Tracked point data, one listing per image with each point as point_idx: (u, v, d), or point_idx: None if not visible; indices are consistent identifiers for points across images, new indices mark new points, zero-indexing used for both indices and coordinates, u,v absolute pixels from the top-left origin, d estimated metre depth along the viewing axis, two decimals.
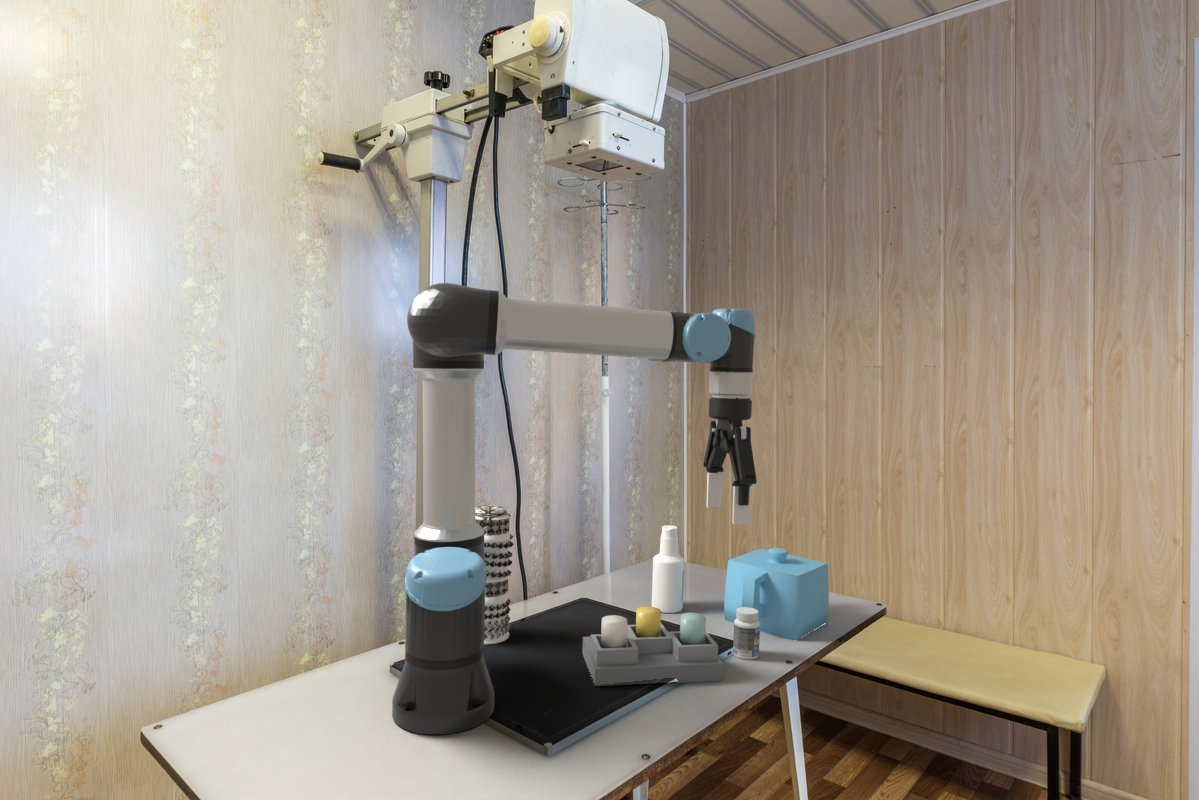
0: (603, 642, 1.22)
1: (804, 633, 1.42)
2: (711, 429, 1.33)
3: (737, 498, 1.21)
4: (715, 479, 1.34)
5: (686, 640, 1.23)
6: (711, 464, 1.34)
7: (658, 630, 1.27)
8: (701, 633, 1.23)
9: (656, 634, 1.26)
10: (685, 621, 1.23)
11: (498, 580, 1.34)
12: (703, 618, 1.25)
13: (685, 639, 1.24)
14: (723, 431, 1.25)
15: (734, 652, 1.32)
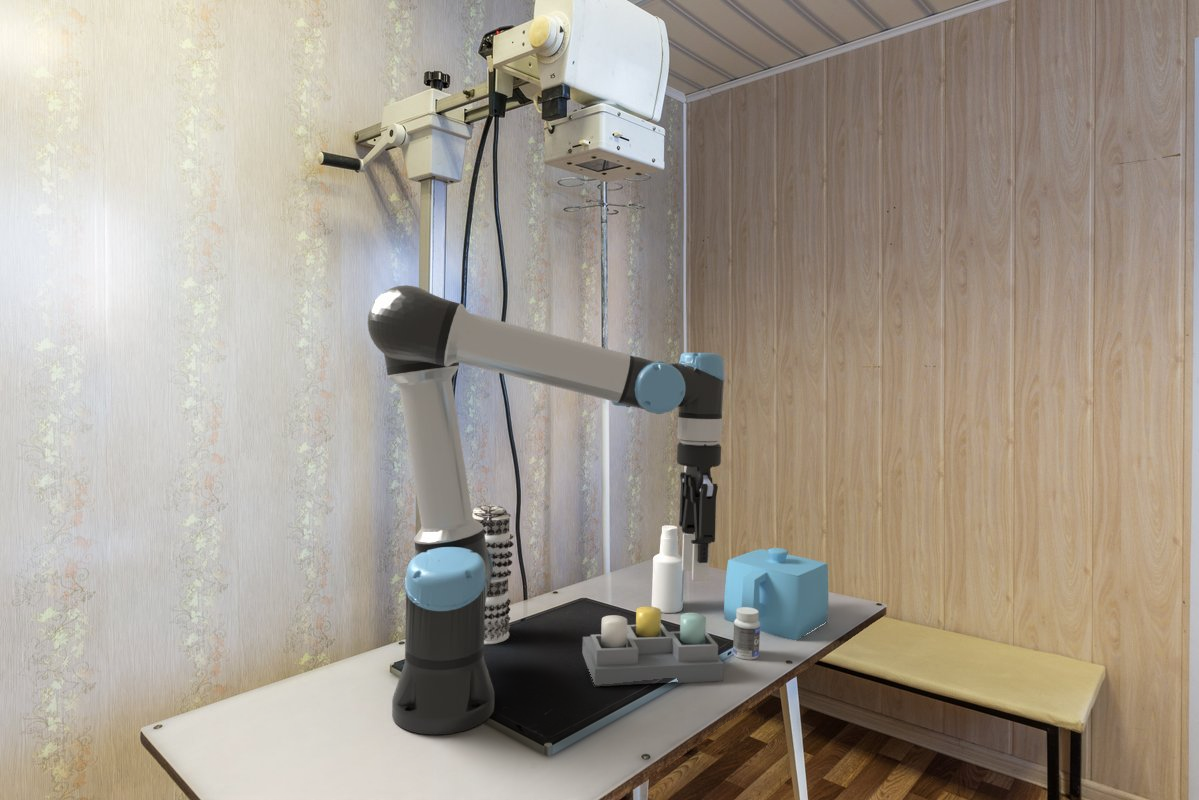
0: (603, 642, 1.22)
1: (804, 633, 1.42)
2: (681, 480, 1.29)
3: (696, 555, 1.21)
4: (691, 540, 1.27)
5: (686, 640, 1.23)
6: (686, 521, 1.27)
7: (658, 630, 1.27)
8: (701, 633, 1.23)
9: (656, 634, 1.26)
10: (685, 621, 1.23)
11: (498, 580, 1.34)
12: (703, 618, 1.25)
13: (685, 639, 1.24)
14: (691, 480, 1.22)
15: (734, 652, 1.32)
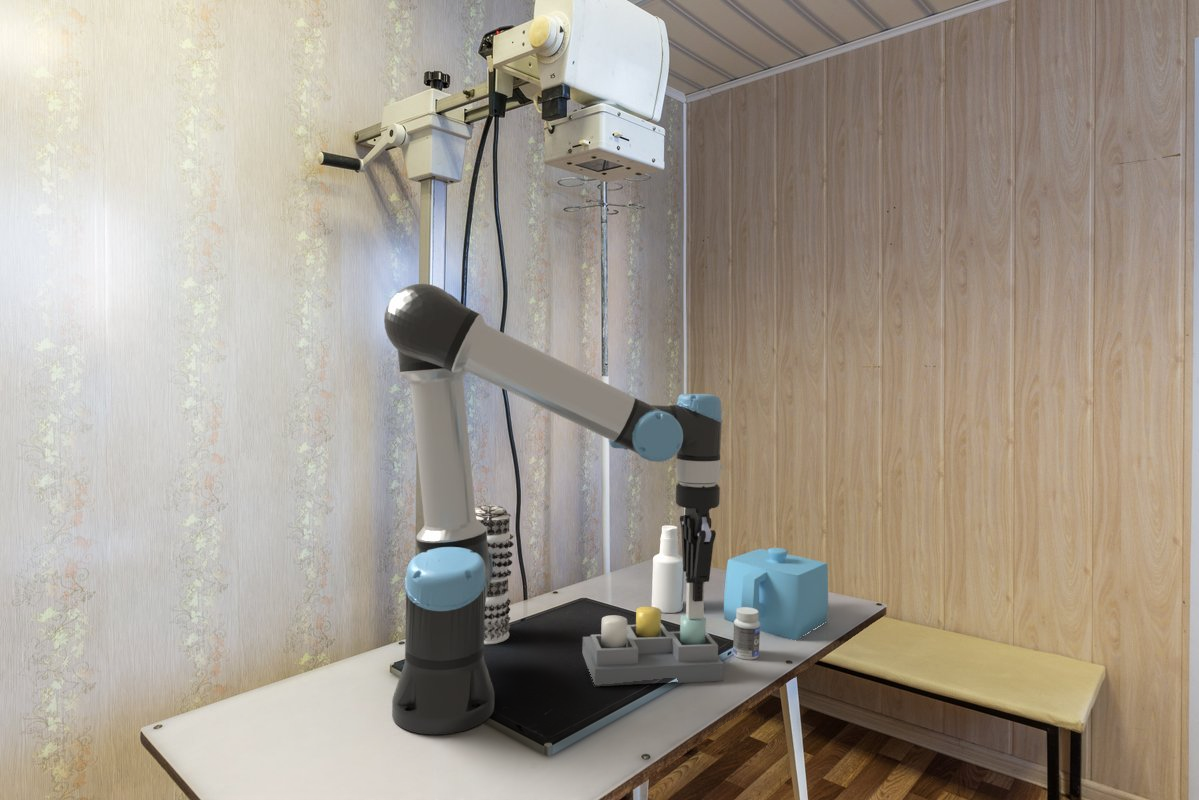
0: (603, 642, 1.22)
1: (804, 633, 1.42)
2: (681, 524, 1.29)
3: (691, 594, 1.24)
4: None
5: (686, 641, 1.23)
6: (689, 565, 1.25)
7: (658, 630, 1.27)
8: (701, 635, 1.23)
9: (656, 634, 1.26)
10: (685, 622, 1.23)
11: (498, 580, 1.34)
12: (703, 619, 1.25)
13: (685, 640, 1.24)
14: (690, 522, 1.22)
15: (734, 652, 1.32)
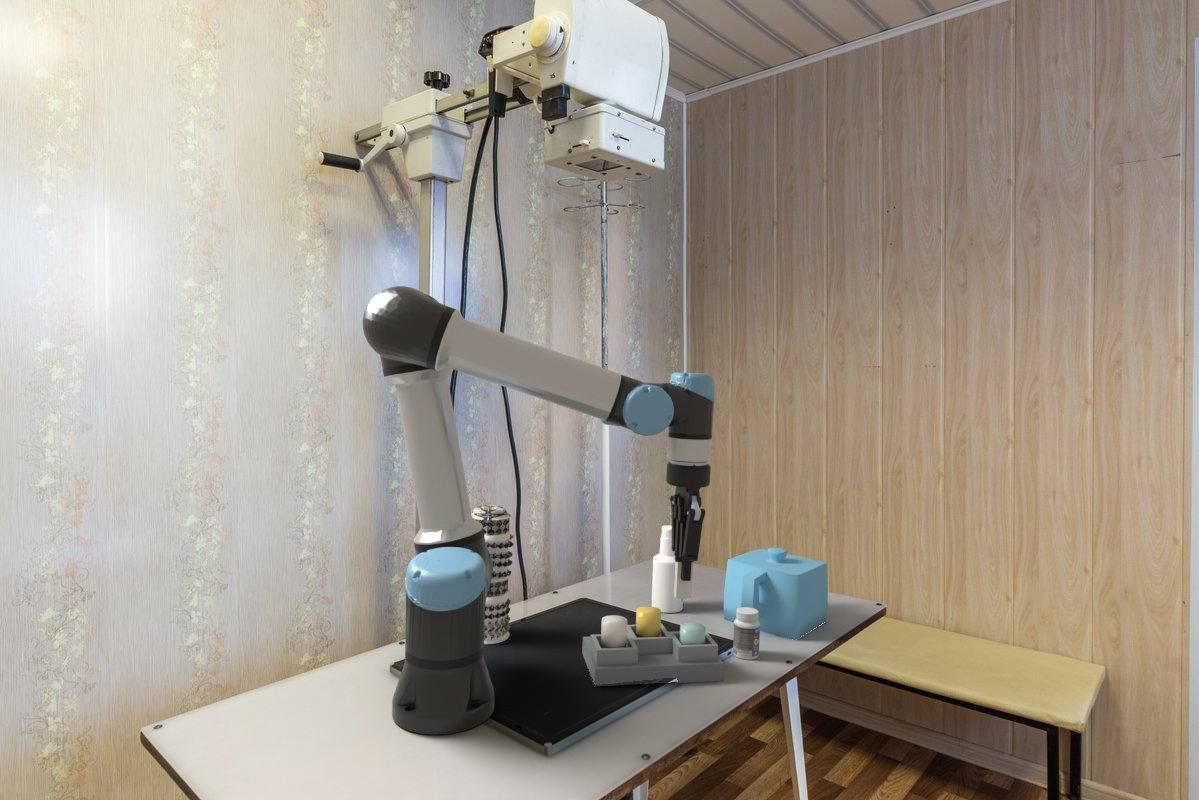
0: (603, 642, 1.22)
1: (803, 632, 1.42)
2: (672, 503, 1.28)
3: (680, 573, 1.23)
4: None
5: None
6: (678, 544, 1.25)
7: (658, 630, 1.27)
8: (700, 643, 1.23)
9: (656, 634, 1.26)
10: (685, 631, 1.24)
11: (498, 580, 1.34)
12: (703, 628, 1.25)
13: None
14: (680, 501, 1.22)
15: (734, 652, 1.32)
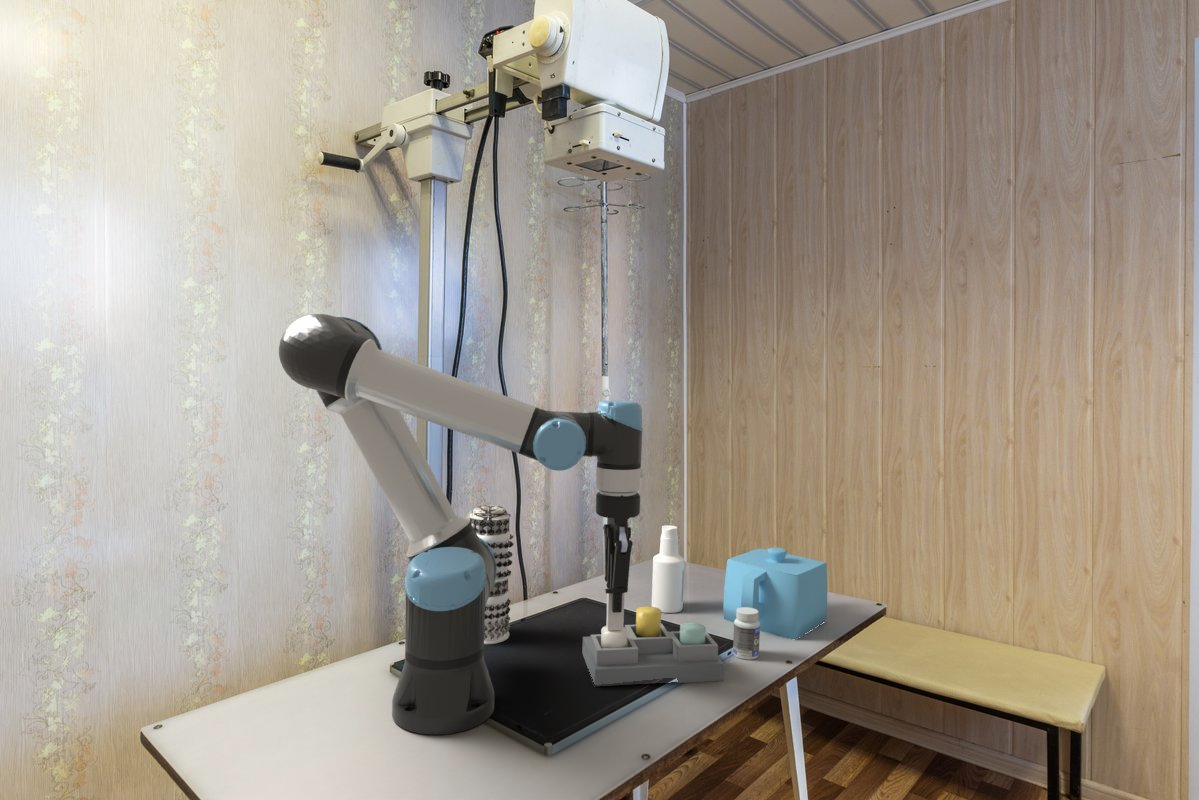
0: None
1: (803, 632, 1.43)
2: (604, 533, 1.27)
3: (611, 604, 1.22)
4: None
5: None
6: (609, 575, 1.23)
7: (658, 630, 1.27)
8: (700, 643, 1.23)
9: (656, 634, 1.26)
10: (685, 631, 1.24)
11: (498, 580, 1.34)
12: (703, 628, 1.25)
13: None
14: (609, 532, 1.20)
15: (734, 652, 1.32)
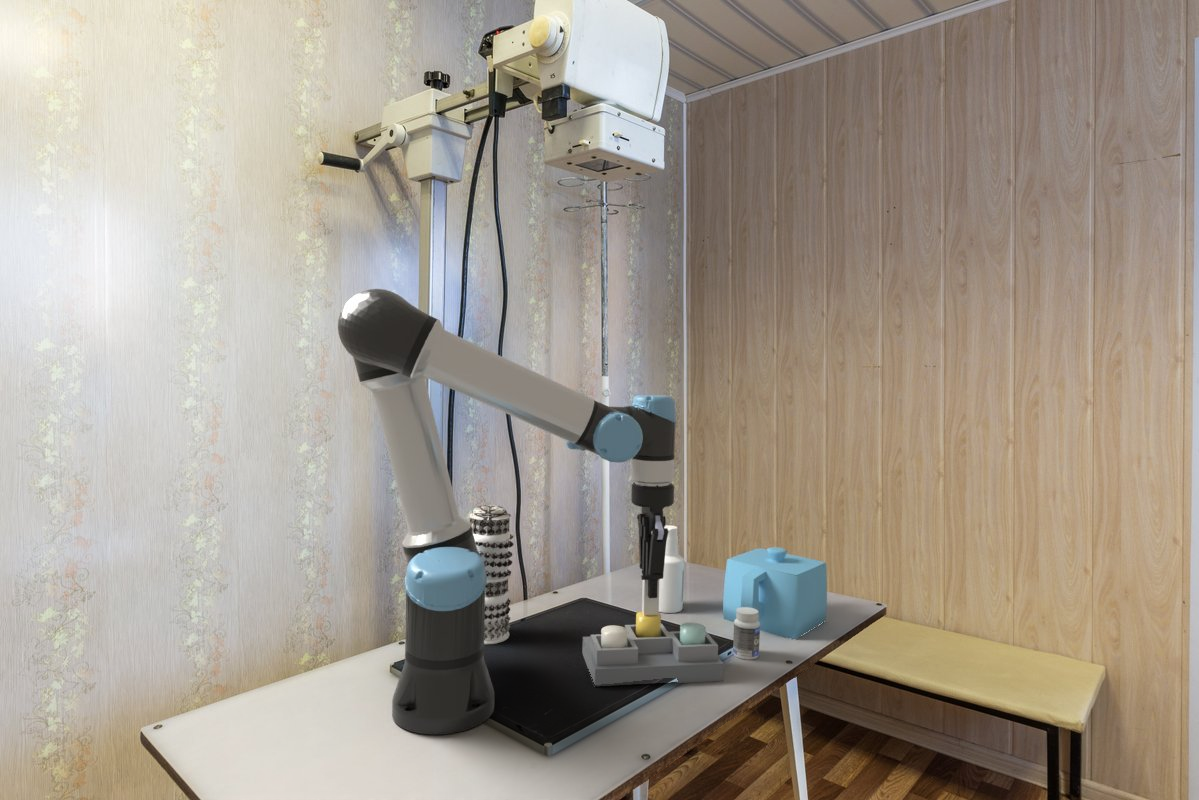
0: None
1: (803, 632, 1.43)
2: (639, 522, 1.32)
3: (647, 590, 1.27)
4: None
5: None
6: (644, 562, 1.28)
7: (658, 634, 1.27)
8: (700, 643, 1.23)
9: None
10: (685, 631, 1.24)
11: (498, 580, 1.34)
12: (703, 628, 1.25)
13: None
14: (645, 520, 1.25)
15: (734, 652, 1.32)
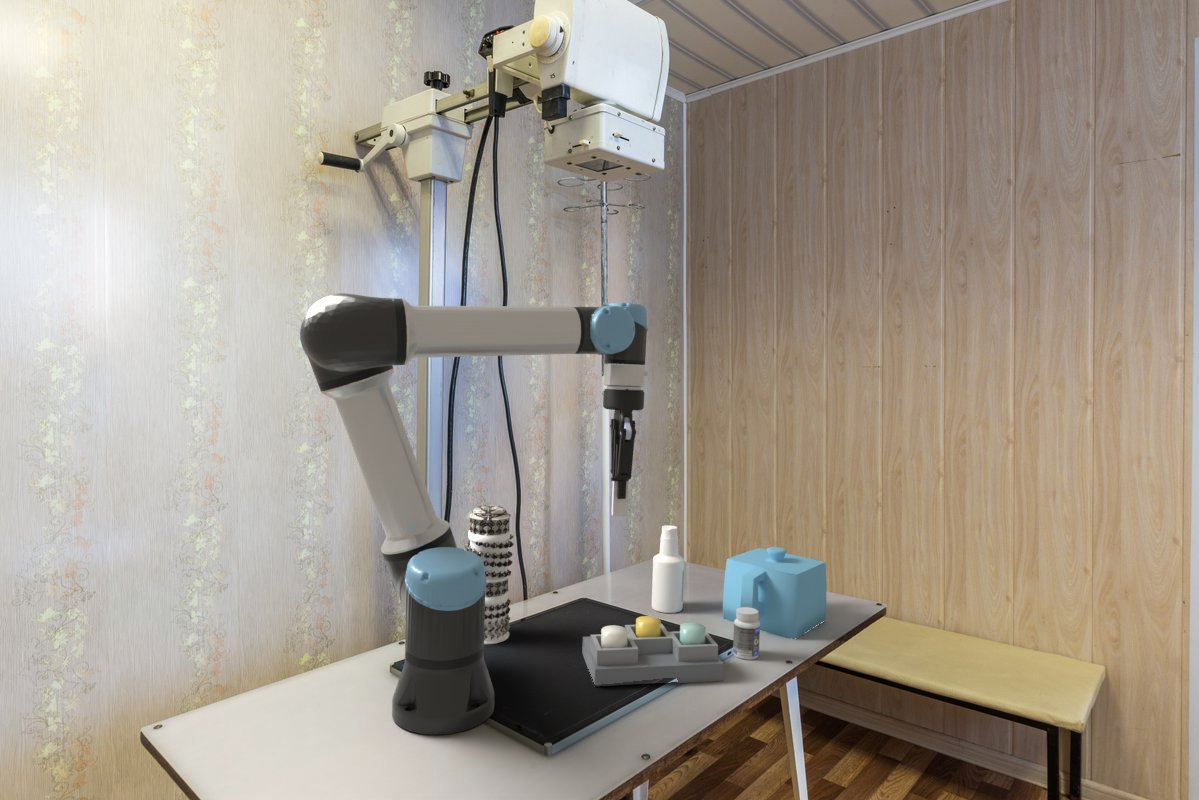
0: None
1: (802, 631, 1.43)
2: (611, 430, 1.37)
3: (616, 492, 1.32)
4: None
5: None
6: (615, 465, 1.33)
7: None
8: (700, 643, 1.23)
9: None
10: (685, 631, 1.24)
11: (498, 580, 1.34)
12: (703, 628, 1.25)
13: None
14: (615, 423, 1.30)
15: (734, 652, 1.32)
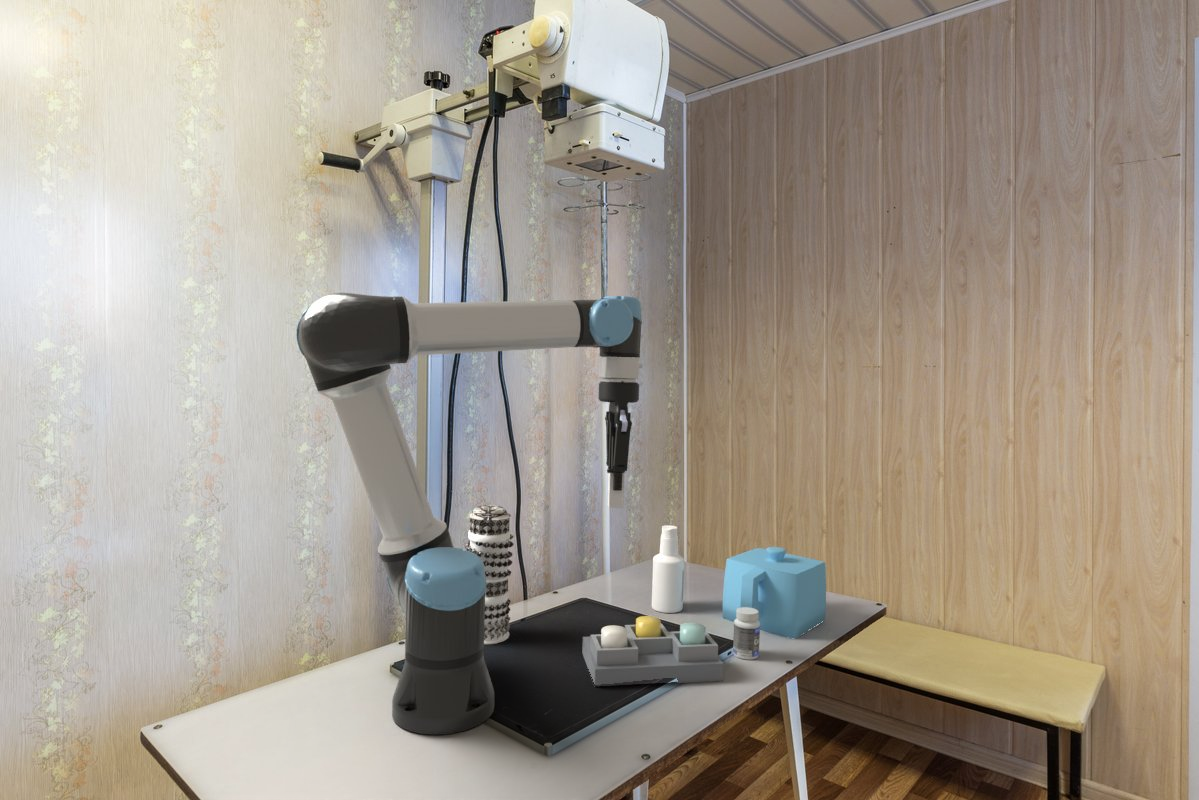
0: None
1: (802, 631, 1.43)
2: (606, 422, 1.38)
3: (612, 484, 1.33)
4: None
5: None
6: (610, 458, 1.34)
7: None
8: (700, 643, 1.23)
9: None
10: (685, 631, 1.24)
11: (498, 580, 1.34)
12: (703, 628, 1.25)
13: None
14: (610, 415, 1.31)
15: (734, 652, 1.32)
